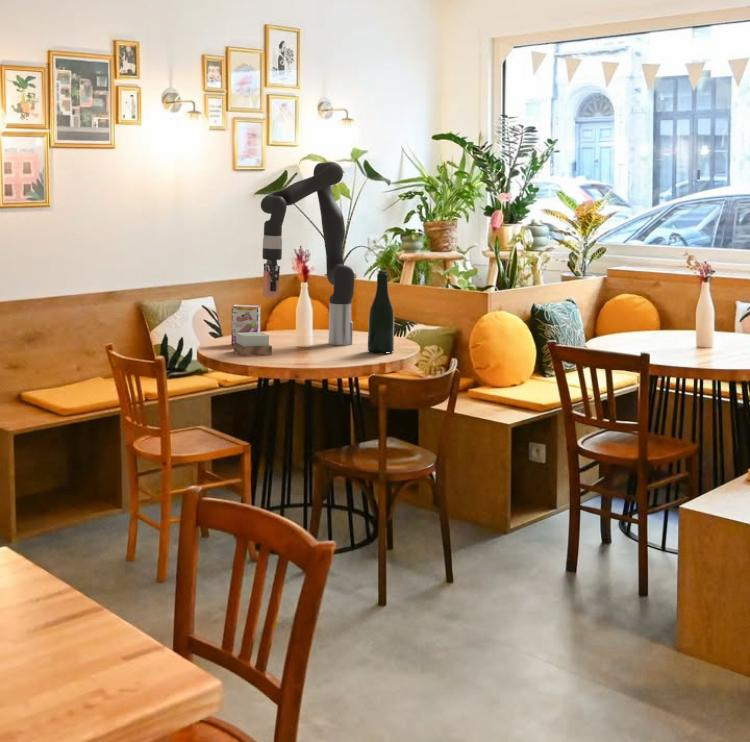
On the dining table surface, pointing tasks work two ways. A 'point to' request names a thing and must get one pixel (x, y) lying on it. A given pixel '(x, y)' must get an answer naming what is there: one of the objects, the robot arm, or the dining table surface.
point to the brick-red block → (267, 286)
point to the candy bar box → (245, 320)
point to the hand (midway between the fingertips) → (270, 290)
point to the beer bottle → (381, 318)
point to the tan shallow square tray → (252, 350)
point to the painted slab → (252, 339)
